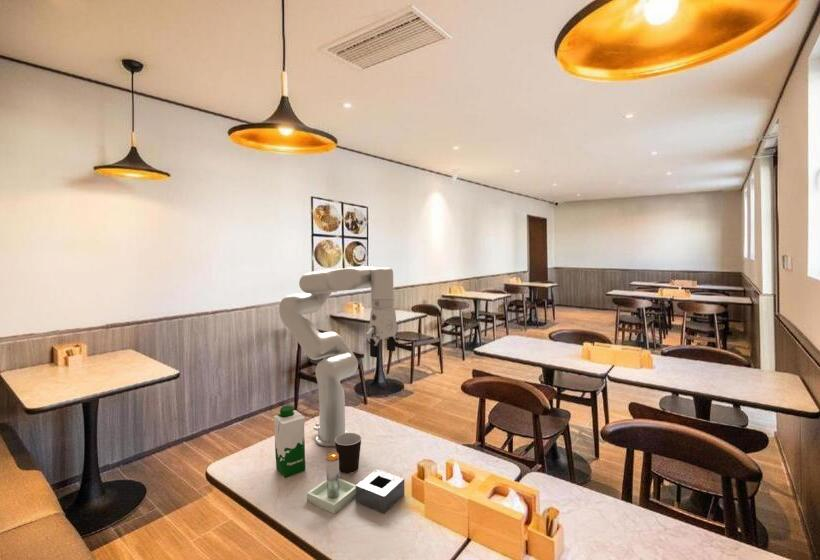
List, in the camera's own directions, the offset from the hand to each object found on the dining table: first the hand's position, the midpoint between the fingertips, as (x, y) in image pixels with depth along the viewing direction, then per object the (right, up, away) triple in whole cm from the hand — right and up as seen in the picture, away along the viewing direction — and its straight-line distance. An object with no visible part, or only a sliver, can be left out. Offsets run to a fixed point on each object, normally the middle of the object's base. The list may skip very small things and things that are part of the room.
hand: (383, 353), depth 136 cm
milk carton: (-30, -37, -6) cm, 48 cm away
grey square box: (+1, -38, -21) cm, 43 cm away
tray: (-13, -38, -21) cm, 45 cm away
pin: (-13, -37, -21) cm, 44 cm away
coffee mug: (-11, -37, -3) cm, 39 cm away
